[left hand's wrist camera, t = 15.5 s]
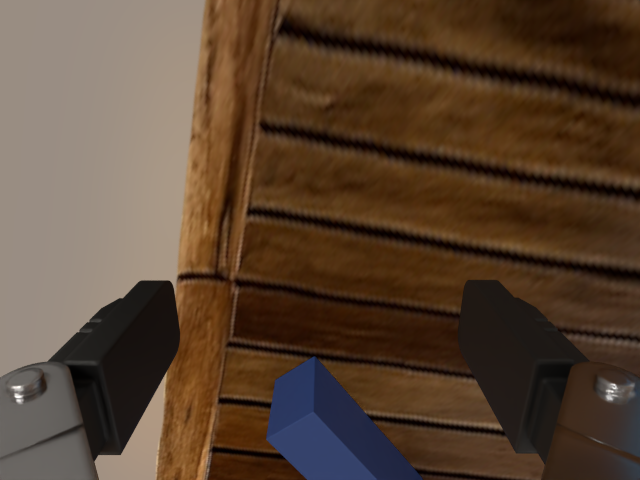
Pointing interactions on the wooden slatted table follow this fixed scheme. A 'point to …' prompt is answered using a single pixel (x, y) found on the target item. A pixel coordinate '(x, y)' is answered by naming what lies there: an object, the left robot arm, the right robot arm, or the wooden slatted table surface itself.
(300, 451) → the box
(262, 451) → the wooden slatted table surface
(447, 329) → the wooden slatted table surface
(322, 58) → the wooden slatted table surface
